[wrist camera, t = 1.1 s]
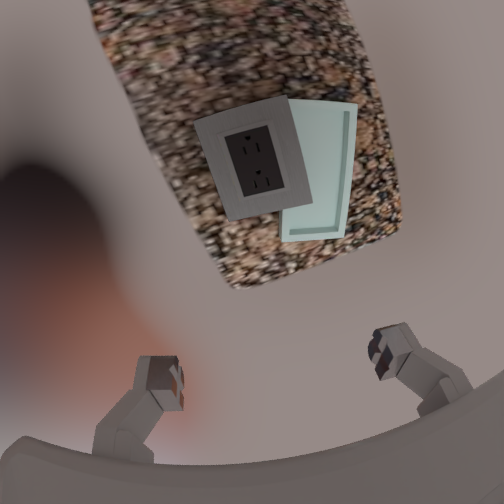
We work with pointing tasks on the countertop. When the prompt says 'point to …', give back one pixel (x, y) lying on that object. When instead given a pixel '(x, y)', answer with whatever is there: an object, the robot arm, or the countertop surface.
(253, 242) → the countertop surface
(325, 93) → the countertop surface
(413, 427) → the robot arm
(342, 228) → the parts tray
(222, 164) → the electrical outlet
